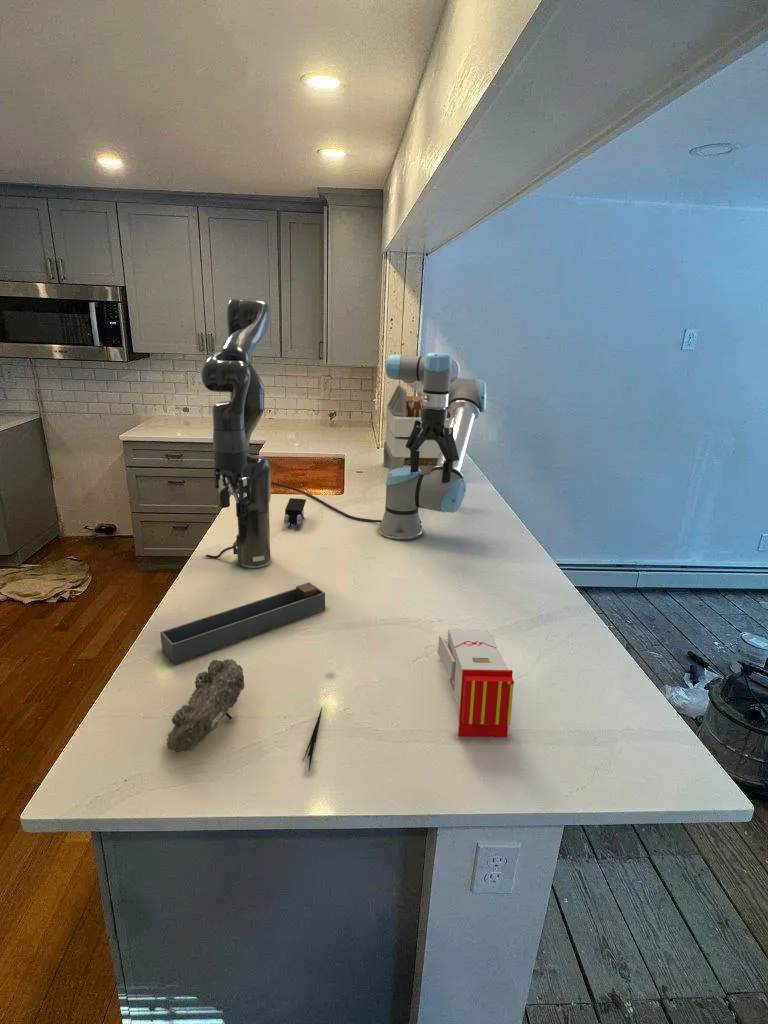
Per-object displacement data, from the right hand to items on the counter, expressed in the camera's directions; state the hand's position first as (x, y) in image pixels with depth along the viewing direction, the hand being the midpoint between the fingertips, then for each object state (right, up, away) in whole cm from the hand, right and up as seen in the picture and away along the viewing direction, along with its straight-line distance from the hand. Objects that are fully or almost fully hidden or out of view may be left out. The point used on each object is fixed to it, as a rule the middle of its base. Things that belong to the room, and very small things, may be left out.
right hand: (429, 477), depth 173 cm
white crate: (+3, +8, +102) cm, 102 cm away
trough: (-47, -39, -36) cm, 70 cm away
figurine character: (-46, -15, +32) cm, 58 cm away
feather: (-26, -50, -65) cm, 86 cm away
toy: (+4, -48, -55) cm, 73 cm away
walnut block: (-34, -36, -26) cm, 56 cm away
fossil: (-47, -50, -65) cm, 94 cm away
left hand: (-51, -11, -34) cm, 62 cm away
